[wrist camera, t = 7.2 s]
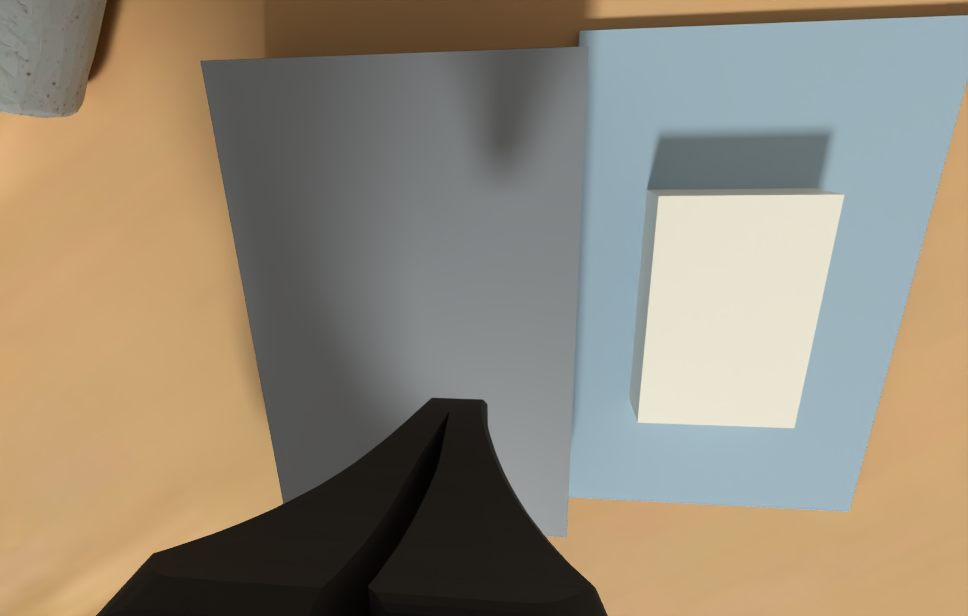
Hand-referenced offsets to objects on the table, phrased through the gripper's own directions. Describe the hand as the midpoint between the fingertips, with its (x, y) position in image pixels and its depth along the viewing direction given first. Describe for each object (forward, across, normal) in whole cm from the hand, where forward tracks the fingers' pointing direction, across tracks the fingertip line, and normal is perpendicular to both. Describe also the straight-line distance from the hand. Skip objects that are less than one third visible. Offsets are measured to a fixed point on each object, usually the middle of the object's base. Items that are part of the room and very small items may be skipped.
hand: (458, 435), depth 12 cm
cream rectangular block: (+8, -9, 0) cm, 12 cm away
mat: (+10, -10, 0) cm, 14 cm away
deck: (+10, +3, 0) cm, 11 cm away
